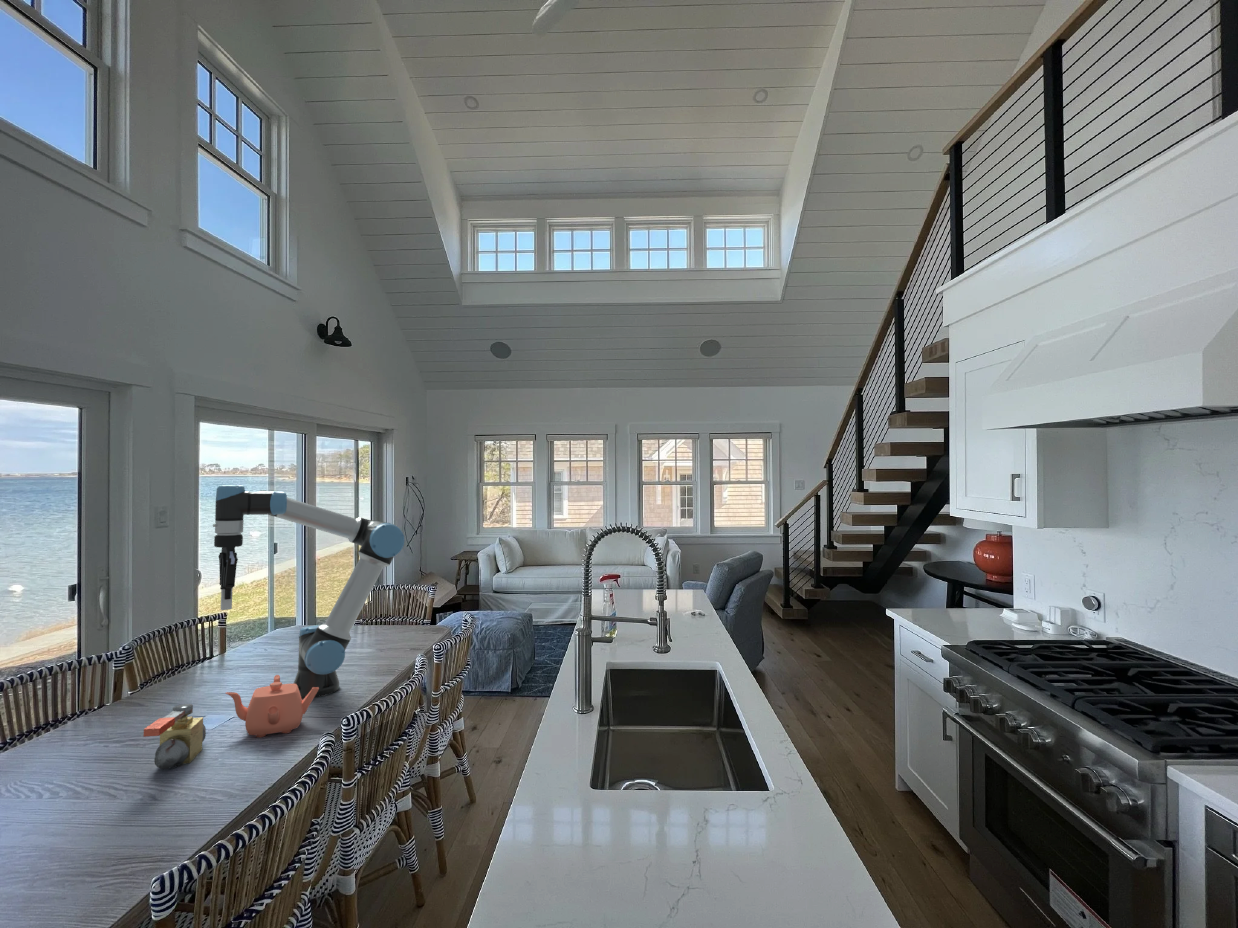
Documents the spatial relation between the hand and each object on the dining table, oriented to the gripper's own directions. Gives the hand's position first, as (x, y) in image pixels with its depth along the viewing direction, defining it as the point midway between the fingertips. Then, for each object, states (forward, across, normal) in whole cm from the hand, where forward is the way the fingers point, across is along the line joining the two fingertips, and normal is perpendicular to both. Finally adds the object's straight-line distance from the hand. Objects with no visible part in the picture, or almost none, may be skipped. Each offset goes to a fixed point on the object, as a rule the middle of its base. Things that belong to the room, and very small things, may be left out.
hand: (226, 609), depth 188 cm
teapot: (+35, +18, +9) cm, 40 cm away
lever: (+23, +27, -17) cm, 39 cm away
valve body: (+34, +22, -14) cm, 43 cm away
